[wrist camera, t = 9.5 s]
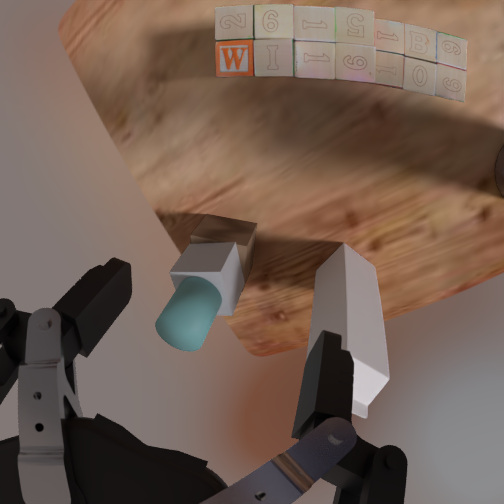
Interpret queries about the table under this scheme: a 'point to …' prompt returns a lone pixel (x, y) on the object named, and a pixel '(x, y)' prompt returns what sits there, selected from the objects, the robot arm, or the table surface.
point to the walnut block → (228, 237)
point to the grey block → (213, 270)
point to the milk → (352, 320)
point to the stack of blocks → (338, 48)
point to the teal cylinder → (189, 314)
